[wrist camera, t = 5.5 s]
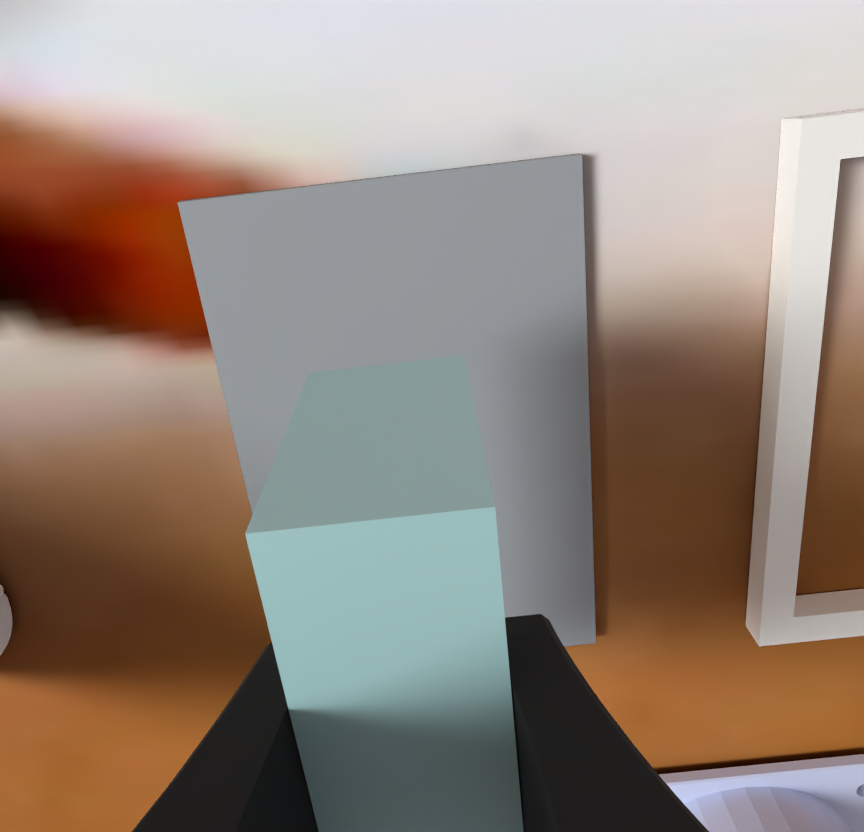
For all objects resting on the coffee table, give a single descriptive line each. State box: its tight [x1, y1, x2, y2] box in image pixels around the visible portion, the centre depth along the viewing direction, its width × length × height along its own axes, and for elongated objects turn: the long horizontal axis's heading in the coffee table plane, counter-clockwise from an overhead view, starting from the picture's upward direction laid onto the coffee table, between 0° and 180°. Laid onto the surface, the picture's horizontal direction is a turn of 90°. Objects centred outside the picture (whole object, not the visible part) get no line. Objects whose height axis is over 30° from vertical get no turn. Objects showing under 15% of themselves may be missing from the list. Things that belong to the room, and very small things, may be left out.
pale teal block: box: [245, 355, 524, 832], centre depth 11 cm, size 8×2×5 cm, turn 6°
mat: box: [178, 154, 596, 646], centre depth 17 cm, size 12×8×1 cm, turn 6°
